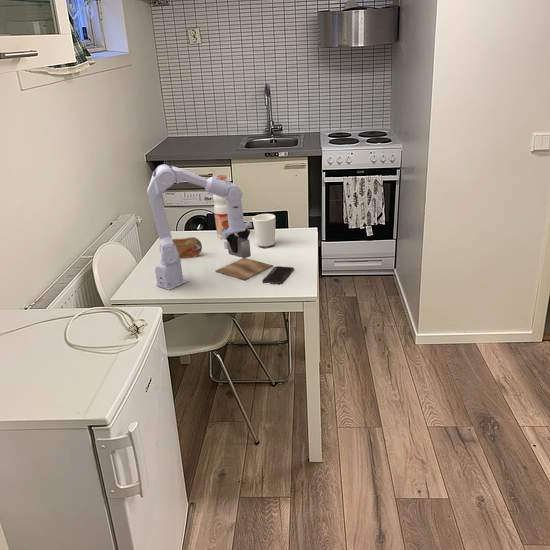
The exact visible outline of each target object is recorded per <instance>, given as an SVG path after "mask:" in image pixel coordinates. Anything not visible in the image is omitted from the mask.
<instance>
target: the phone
mask: <svg viewBox="0 0 550 550" xmlns="http://www.w3.org/2000/svg"><path fill="white" fill-rule="evenodd" d="M294 270H295V268H294V267H291V266H279V265H277V266H275V267H274V268H272V270H271V271H270V272H269V273H268V274H267V275H266V276H265V277H264V278H263V279H262V281H261V283H262V282H263V283H262V284H264V283H270V284H269V285H276V284H278V285H277V286H279V285H280V284H281V285H282V284H283V283H284V282H286V280H287V279H288V278H289V277H290V275H292V273H293V271H294ZM281 285H280V286H281Z"/></svg>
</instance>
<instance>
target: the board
mask: <svg viewBox="0 0 550 550" xmlns="http://www.w3.org/2000/svg"><path fill="white" fill-rule="evenodd" d="M273 267H274V264H270V263H266V262H261V261H259V260H254V259H251V258H242V257H241V258H240V259H238V260H235V261H233V262H231V263H230V264H226V265H225V266H222V267H221V268H218V269H216V270H215V273H218V274H220V273H221V275H223V276H227V277H230V278H235V279H238V280H241V281H247V280H249V279H251V278H253V277H255V276H257V275H260V274H261V273H263V272H265V271H268V270H269V269H272V268H273Z"/></svg>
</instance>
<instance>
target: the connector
mask: <svg viewBox="0 0 550 550" xmlns="http://www.w3.org/2000/svg"><path fill="white" fill-rule="evenodd" d="M223 244H224V249H225V250H227V251H228V255H231V256H234V257H238V258H241V259H242V258H247V259H249V258H250V257H252V255H251V254H252V253H251V245H250V244H251V243H250V239H243V238H239V237H238V241H237V249H238V250H237V253H234V252H232V249H231V247H230V245H229V243H228V241H227V240H226V239H225V240H224V241H223Z"/></svg>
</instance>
